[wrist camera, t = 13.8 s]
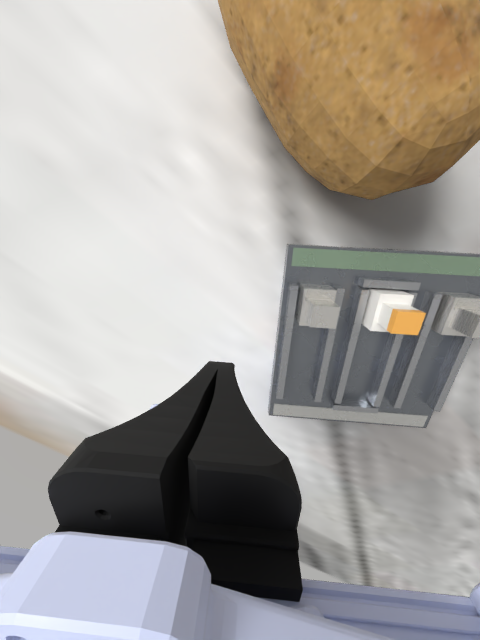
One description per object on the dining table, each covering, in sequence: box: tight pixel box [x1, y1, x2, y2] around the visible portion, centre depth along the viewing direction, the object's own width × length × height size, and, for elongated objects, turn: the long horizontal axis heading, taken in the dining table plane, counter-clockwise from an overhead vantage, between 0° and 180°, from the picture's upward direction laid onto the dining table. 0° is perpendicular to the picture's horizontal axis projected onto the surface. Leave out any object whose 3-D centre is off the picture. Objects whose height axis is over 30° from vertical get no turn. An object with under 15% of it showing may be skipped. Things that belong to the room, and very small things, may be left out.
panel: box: [268, 244, 480, 428], centre depth 19 cm, size 17×16×5 cm
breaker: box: [361, 288, 426, 335], centre depth 17 cm, size 3×2×4 cm
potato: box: [218, 0, 480, 200], centre depth 11 cm, size 9×16×9 cm, turn 34°
